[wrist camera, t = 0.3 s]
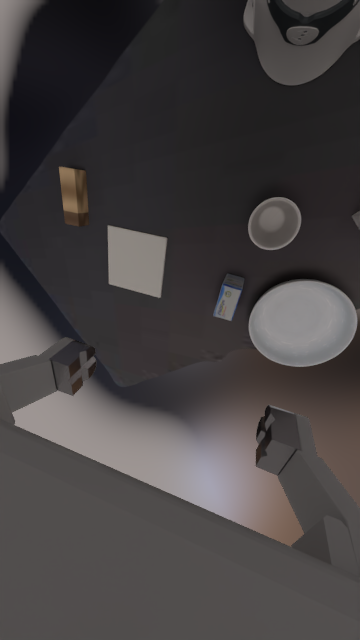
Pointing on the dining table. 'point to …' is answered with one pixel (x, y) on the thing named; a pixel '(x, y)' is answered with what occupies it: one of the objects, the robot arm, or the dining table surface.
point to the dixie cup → (274, 223)
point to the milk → (357, 219)
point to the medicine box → (229, 297)
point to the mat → (136, 260)
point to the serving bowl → (302, 322)
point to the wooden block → (74, 196)
